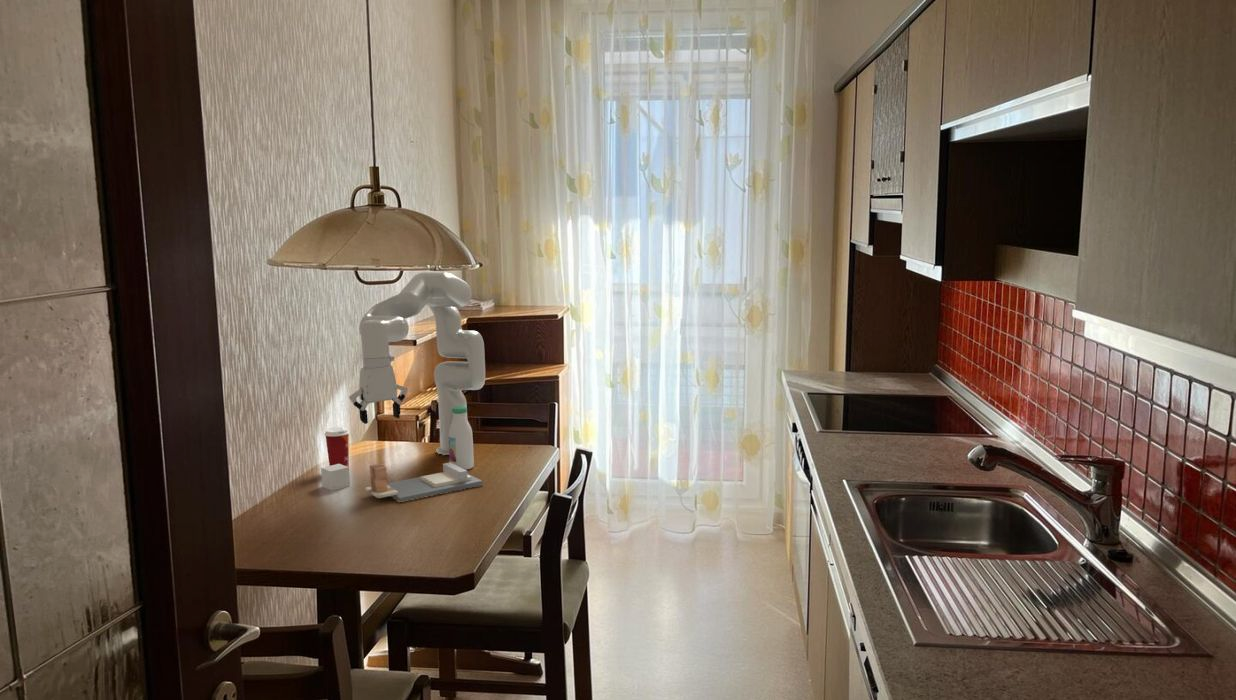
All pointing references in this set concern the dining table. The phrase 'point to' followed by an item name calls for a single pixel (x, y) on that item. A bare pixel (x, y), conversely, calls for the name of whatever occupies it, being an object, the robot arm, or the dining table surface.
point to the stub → (379, 482)
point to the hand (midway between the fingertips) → (380, 420)
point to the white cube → (335, 477)
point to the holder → (434, 483)
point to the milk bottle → (461, 439)
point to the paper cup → (338, 445)
